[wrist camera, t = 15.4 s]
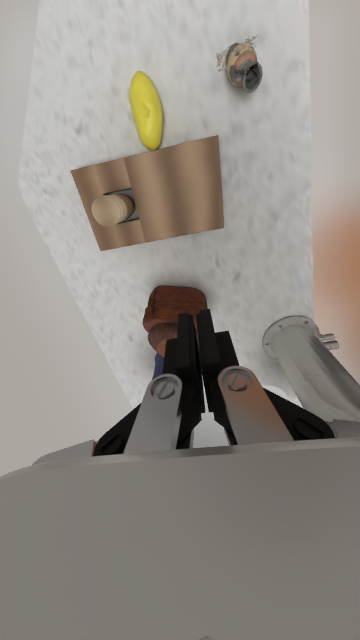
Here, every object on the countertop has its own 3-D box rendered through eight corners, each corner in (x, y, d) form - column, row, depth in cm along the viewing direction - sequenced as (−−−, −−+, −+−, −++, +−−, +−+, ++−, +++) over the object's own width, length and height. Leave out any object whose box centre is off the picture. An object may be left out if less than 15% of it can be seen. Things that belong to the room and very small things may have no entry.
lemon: (140, 153, 33) (135, 150, 30) (129, 79, 29) (121, 65, 25) (167, 150, 33) (165, 146, 29) (159, 74, 28) (156, 60, 25)
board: (215, 139, 32) (217, 135, 29) (221, 224, 38) (224, 227, 35) (79, 171, 34) (70, 170, 32) (105, 247, 40) (100, 251, 38)
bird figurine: (262, 94, 29) (274, 78, 24) (223, 113, 31) (227, 101, 26) (257, 37, 26) (270, 5, 22) (214, 59, 28) (217, 34, 23)
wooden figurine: (152, 308, 47) (136, 365, 32) (152, 281, 44) (136, 331, 29) (204, 312, 48) (214, 371, 32) (209, 286, 44) (222, 338, 29)
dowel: (133, 191, 35) (114, 192, 26) (139, 214, 37) (123, 223, 28) (112, 196, 36) (87, 199, 27) (119, 219, 38) (98, 229, 28)
